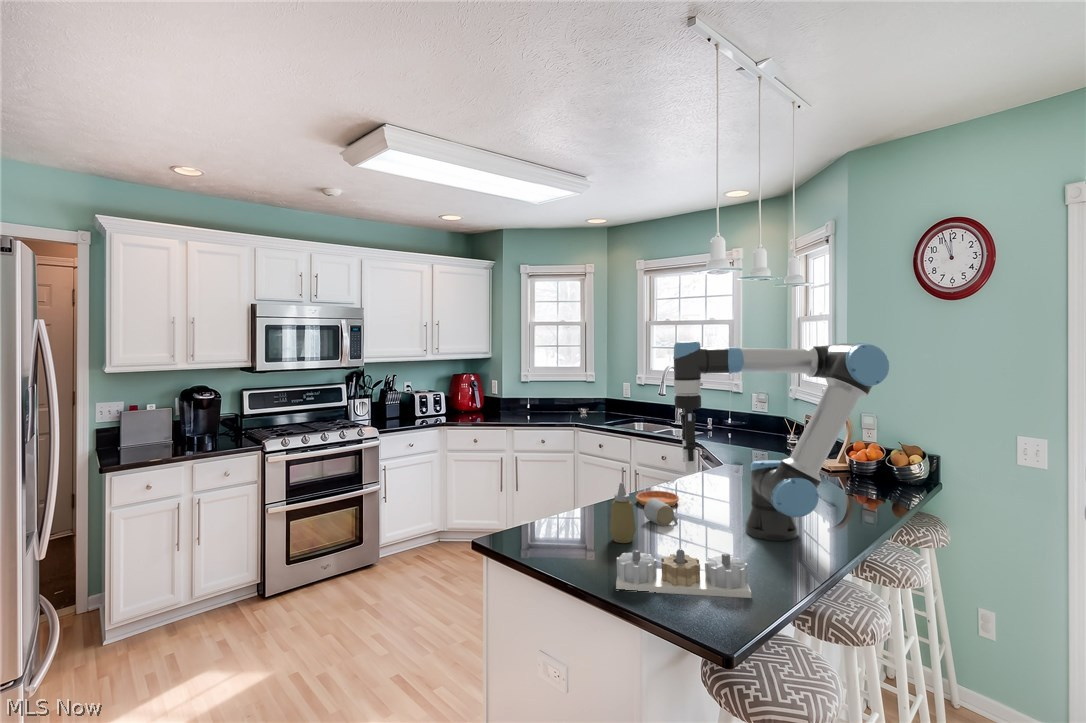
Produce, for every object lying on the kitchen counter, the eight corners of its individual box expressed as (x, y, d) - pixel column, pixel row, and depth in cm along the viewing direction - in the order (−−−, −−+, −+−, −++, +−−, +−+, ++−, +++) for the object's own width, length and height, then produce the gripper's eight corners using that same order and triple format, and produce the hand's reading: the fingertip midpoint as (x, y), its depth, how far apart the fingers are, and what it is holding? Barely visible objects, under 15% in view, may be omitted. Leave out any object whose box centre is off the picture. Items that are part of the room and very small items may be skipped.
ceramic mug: (657, 528, 184) (657, 505, 184) (643, 521, 191) (643, 499, 191) (683, 524, 188) (683, 501, 188) (668, 517, 196) (668, 495, 196)
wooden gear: (661, 570, 147) (661, 553, 146) (698, 572, 145) (697, 554, 145) (662, 585, 137) (661, 567, 137) (701, 587, 136) (701, 569, 136)
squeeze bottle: (619, 547, 168) (618, 487, 168) (604, 539, 175) (603, 482, 175) (641, 542, 172) (640, 484, 171) (625, 534, 179) (624, 478, 179)
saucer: (680, 510, 203) (680, 502, 203) (635, 509, 206) (635, 501, 206) (677, 498, 219) (677, 491, 219) (636, 497, 222) (636, 490, 222)
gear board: (743, 578, 144) (743, 544, 143) (751, 598, 133) (750, 560, 132) (618, 572, 150) (617, 539, 149) (616, 590, 139) (615, 554, 139)
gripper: (705, 398, 150) (706, 477, 150) (697, 390, 174) (698, 458, 175) (676, 398, 151) (678, 476, 152) (672, 390, 175) (674, 457, 176)
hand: (689, 466), depth 163 cm, fingers open, 13 cm apart
